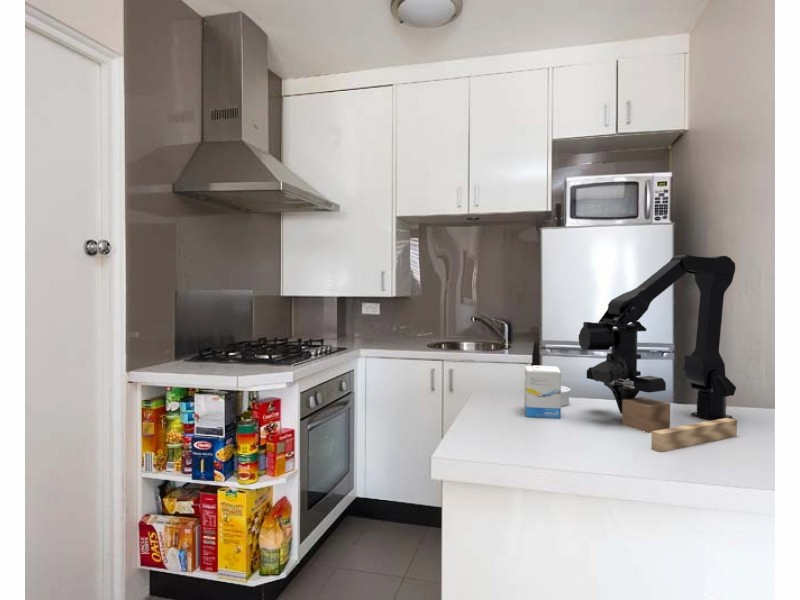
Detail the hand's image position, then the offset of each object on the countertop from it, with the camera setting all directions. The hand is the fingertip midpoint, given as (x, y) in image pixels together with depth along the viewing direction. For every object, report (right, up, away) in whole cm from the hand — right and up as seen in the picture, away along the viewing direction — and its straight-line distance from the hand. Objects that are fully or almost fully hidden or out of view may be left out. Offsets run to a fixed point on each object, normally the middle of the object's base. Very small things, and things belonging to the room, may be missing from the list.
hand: (623, 413), depth 117 cm
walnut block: (+2, -2, -6) cm, 6 cm away
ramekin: (-12, -1, +16) cm, 20 cm away
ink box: (-18, -2, +6) cm, 19 cm away
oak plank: (+7, -2, -17) cm, 18 cm away
